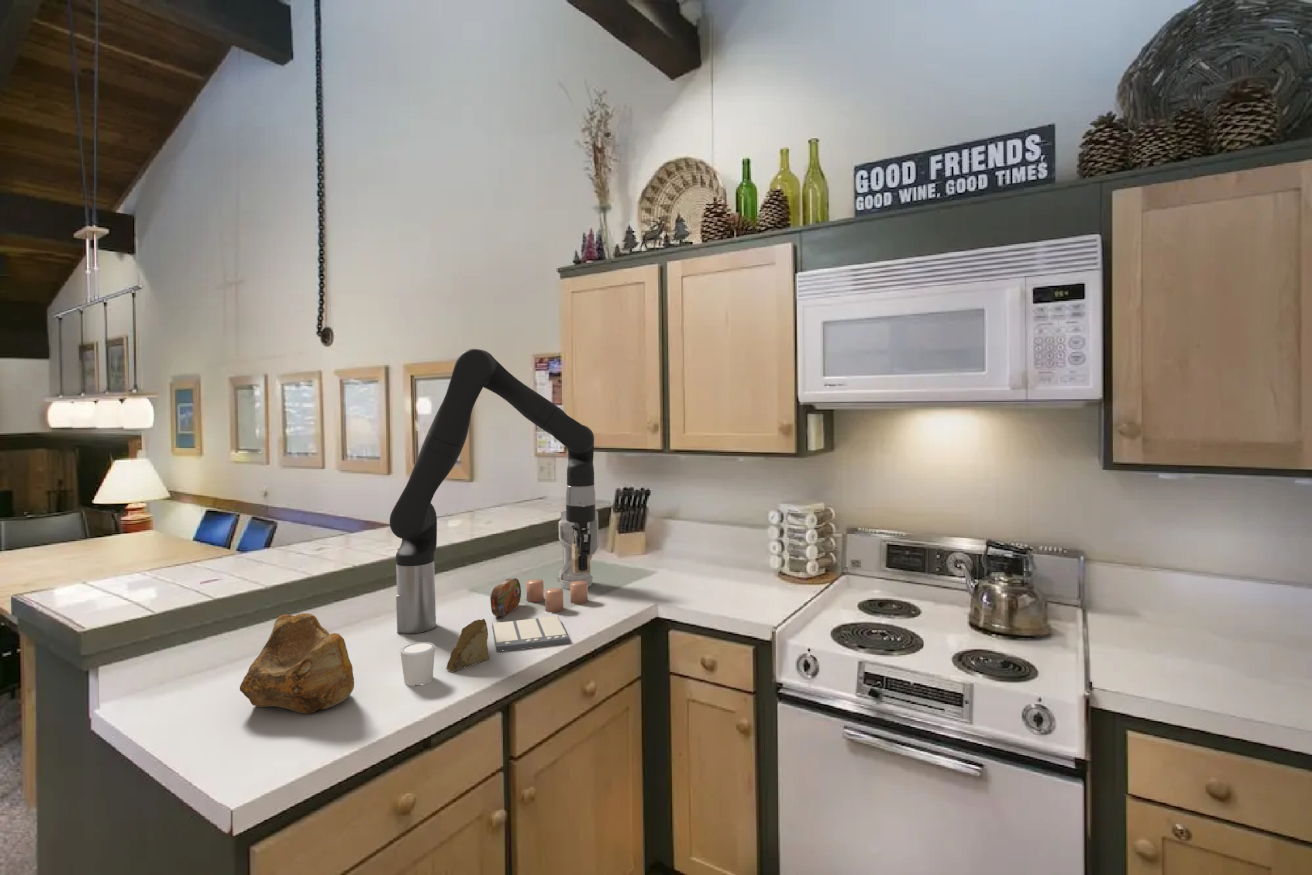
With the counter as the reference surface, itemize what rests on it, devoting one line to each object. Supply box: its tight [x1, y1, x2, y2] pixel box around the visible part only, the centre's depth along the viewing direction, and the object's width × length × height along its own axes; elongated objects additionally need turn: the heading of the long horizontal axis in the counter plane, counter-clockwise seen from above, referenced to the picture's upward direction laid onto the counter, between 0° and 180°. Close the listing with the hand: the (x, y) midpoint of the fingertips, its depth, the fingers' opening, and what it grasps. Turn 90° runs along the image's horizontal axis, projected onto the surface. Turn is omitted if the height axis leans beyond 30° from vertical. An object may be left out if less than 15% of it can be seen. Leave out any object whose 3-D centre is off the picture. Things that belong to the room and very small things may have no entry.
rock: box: [445, 618, 489, 673], centre depth 142 cm, size 11×9×10 cm
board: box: [491, 615, 570, 652], centre depth 159 cm, size 17×17×1 cm
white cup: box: [399, 641, 436, 687], centre depth 134 cm, size 7×7×7 cm
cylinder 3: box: [569, 581, 589, 605], centre depth 186 cm, size 5×5×6 cm
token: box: [572, 543, 591, 573], centre depth 166 cm, size 4×4×7 cm
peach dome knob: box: [544, 587, 564, 613], centre depth 179 cm, size 5×5×6 cm
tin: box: [490, 577, 522, 618], centre depth 178 cm, size 15×3×8 cm, turn 168°
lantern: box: [556, 507, 600, 590], centre depth 202 cm, size 13×10×25 cm
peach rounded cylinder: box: [525, 578, 545, 603], centre depth 188 cm, size 5×5×6 cm
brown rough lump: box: [239, 612, 355, 715], centre depth 124 cm, size 23×17×15 cm
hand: (581, 567), depth 166 cm, fingers closed on token, 4 cm apart
